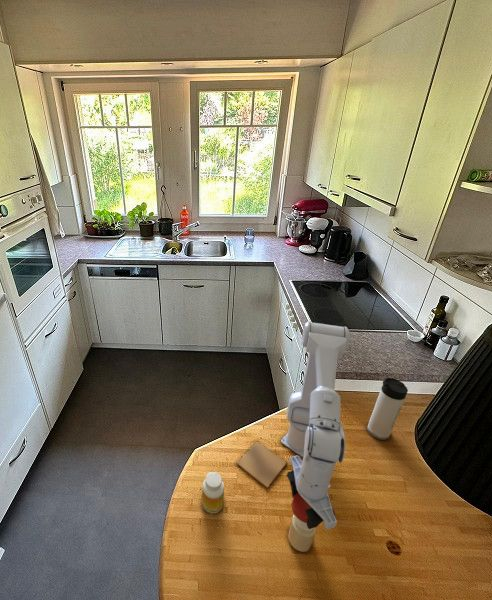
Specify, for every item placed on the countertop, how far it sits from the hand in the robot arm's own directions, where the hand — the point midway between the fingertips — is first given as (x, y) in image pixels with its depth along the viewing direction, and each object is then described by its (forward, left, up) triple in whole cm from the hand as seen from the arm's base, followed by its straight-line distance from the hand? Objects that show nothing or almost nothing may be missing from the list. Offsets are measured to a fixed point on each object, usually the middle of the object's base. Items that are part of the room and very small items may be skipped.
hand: (304, 511), depth 71 cm
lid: (0, 0, +2) cm, 2 cm away
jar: (0, +1, -10) cm, 10 cm away
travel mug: (-45, +4, -10) cm, 46 cm away
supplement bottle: (+8, -19, -10) cm, 23 cm away
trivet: (-10, -16, -10) cm, 21 cm away
